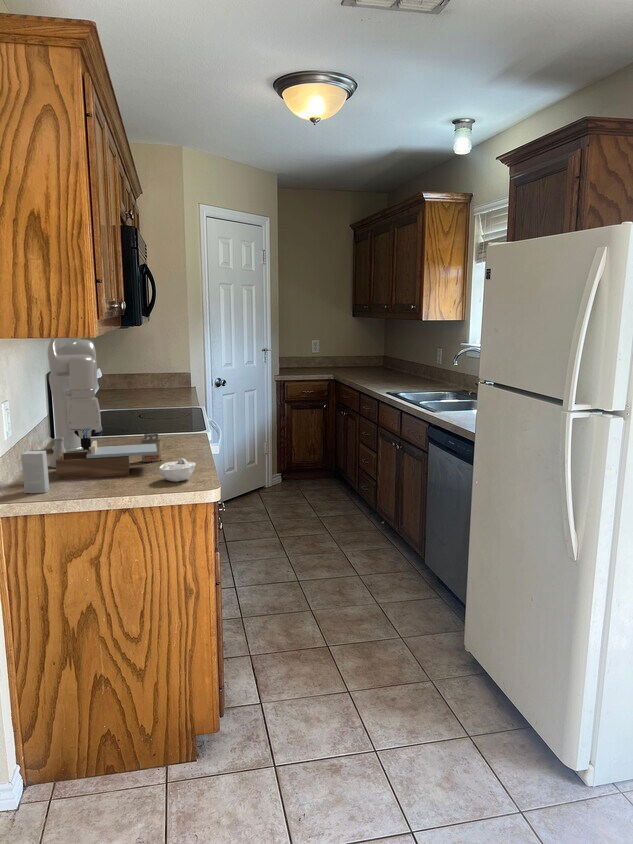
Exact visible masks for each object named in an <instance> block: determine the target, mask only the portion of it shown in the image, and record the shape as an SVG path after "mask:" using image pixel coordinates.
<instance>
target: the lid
mask: <svg viewBox="0 0 633 844" xmlns="http://www.w3.org/2000/svg"><path fill="white" fill-rule="evenodd" d="M87 451H88V452H87V455H86V457H87V458H101V457H119V456H129V457H130V456H131V457H132V456H134V457H135V456H142V455H153V454H157V448H156V444H142V445H141V444H128V445H108V446H106V445H105V446H98V440H93V441H91V447H89V450H87Z"/></svg>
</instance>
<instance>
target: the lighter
mask: <svg viewBox="0 0 633 844" xmlns="http://www.w3.org/2000/svg"><path fill="white" fill-rule="evenodd" d="M140 441H141V442H140V445H142V444H156V448H157V454H153V455H141V462H143V463H144V462H145V463H146V462H147V463H151V461H152V462H159V461H160V460H161V461H162V460H163V454H162V451H163V450H162V438H161V437H159V433H158V432H156V433H144V437H143V438H142V439H140ZM161 461H160V462H161Z"/></svg>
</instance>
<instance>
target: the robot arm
mask: <svg viewBox="0 0 633 844" xmlns="http://www.w3.org/2000/svg"><path fill="white" fill-rule="evenodd" d="M49 340H50V341H49V344H48V346H47V359H48V365H49V371H50V372H49V375H48V382H49V386H50V391H51V397H52V405H53V418H54V433H55V438H57V437H63V438H64V440H63V444H64V448H65V451H66V452H80V451H88V450H89V447H91V445H92V441H91V440H92V436H93V435H95V433H100V432H102V431H103V427H102V416H101V409H100V403H99V399H98V397H96V389H97V388H98V382H99V381H98V366H97V365H98V363H97V351H96V347H95V344H94V342H93V341H91V340H90V339H89V340H88V339H82V338H56V339H49ZM84 430H86V431H87V434H86V436H85V434H84ZM54 448H55V445H53V446H52V447H51V449H52V450H51V451H52V452H54Z"/></svg>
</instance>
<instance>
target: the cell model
mask: <svg viewBox="0 0 633 844" xmlns="http://www.w3.org/2000/svg"><path fill="white" fill-rule="evenodd" d="M195 467H196V462H192V461H187V460H186V459H185V458H183V457H181V458H179V459H178V461H168V462H165V463H163V464H161V465H160V466H158V470H159V474H160V476H161V477H162V478H164V479H165V480H167V481H169V482H181V481H186V480H188V479H189V478H190V477H191V476H192V474H193V473H194V471H195Z"/></svg>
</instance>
